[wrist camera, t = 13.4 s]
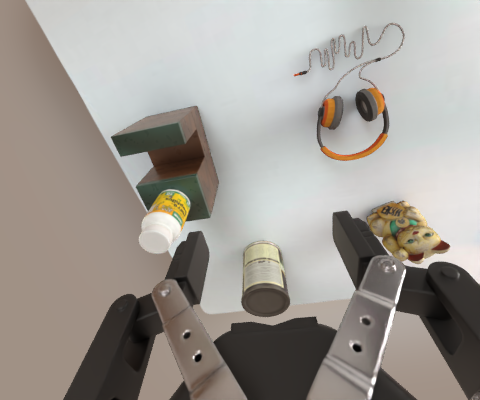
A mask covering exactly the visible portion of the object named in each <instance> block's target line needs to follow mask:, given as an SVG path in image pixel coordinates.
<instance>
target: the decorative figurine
mask: <svg viewBox="0 0 480 400" xmlns="http://www.w3.org/2000/svg"><path fill="white" fill-rule="evenodd" d="M372 212H373V214H372V215H370V216H368V217H367V221H368V224H369V226H370V229H371V231H372V232H373V233H374V234H375V235H376V236H378V237H383V240H382V243H383V245H384V246H385V247H386V249H388V250H389V251H390V252H391V253H392V255H393V256H394V257H395V258H396V259H398V260H400V261H404V260H406V259H408V260H409V261H411V262H413V263H415V264H420V263H422V262H423V260H424V259H426V258H428V257H431V256H432V255H434V254H435V253H437V254H441V253H445V252H447V251H448V250H449V248H450V245H449V244H447V243H446V242H444V241H442V240H441V239H440V237H439V236H438V234H437V233H436V232H435V231H434V230H433V229H431V228H430V227H427V222H426V220H425V218H424V217H423V216H422V215H421V214H420V212H419V211H418V209H416V208H415V207H411V206H409V204H408V203H407V202H405V201H402V202H399V203H397V204H396V203H395V202H394V201H391V202H389V203H385V204H384V205H381V206H379V207H377V208H374V209H373V210H372Z"/></svg>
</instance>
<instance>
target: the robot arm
mask: <svg viewBox="0 0 480 400" xmlns="http://www.w3.org/2000/svg"><path fill="white" fill-rule="evenodd" d="M333 239H334V242H335V245H336V247H337V249H338V251H339V253H340V256H341V258H342V260H343V262H344V264H345V266H346V269H347V271H348V273H349V275H350V277H351V279H352V281H353V284H354V286H355V288H356V290H355V292H354V294H353V296H352V298H351V301H350V303H349V305H348V308H347V310H346V312H345V315H344V317H343V319H342V322H341V324H340V326H339V329H338V331H337V330H335V329H333V328H331V327H329V326H326V325H322V324H318V323H317V319H316V317H305V318H294V319H291V320H289V321H286V322H283V323H280V324H277V325H274V326H271V325H266V324H260V323H255V322H246V323H245V322H244V323H232V324H231V331H229V332H227V333H225V334H223V335H221V336H220V337H219V338H217V339H216V340H215V341H214V342H213V341H212V340H211V338H210V336H209V335H208V333H207V331H206V329H205V328H204V326H203V324H202V323H201V322H200V319H199V318H198V316H197V314H196V313H195V311H194V309H193V305H195V304H200V301H201V296H202V291H203V286H204V282H205V277H206V272H207V267H208V262H209V249H208V246H207V243H206V241H205V238H204V235H203V233H202V231H197V232H190V233H189V234H188V237H187V240H186V241H182V242H181V244H180V245H179V246H178V247H177V249H176V251H175V254H174V257H173V259H172V262H171V265H170V267H169V270H168V272H167V275H166V277H165V280H164V281H162V282H160V283H159V284H157V285H156V286H155V288H154V289H153V291H152V293H150V294H148V295H146V296H143V297H140V298H138V299H137V298H136V297H135V296H134V295H132V294H126V295H123V296H121V297H120V298H118V299H117V300H116V301H115V302H114V303H113V304H112V305H111V307H110V308H109V310H108V312H107V314H106V316H105V318H104V320H103V322H102V324H101V326H100V328H99V330H98V332H97V334H96V336H95V338H94V340H93V342H92V344H91V346H90V348H89V350H88V352H87V354H86V356H85V358H84V360H83V362H82V364H81V366H80V368H79V370H78V372H77V374H76V376H75V378H74V380H73V382H72V384H71V386H70V388H69V389H68V392H67V393H66V395H65V397H64V399H63V400H138V396H139V393H140V389H141V386H142V382H143V378H144V375H145V372H146V368H147V365H148V361H149V358H150V354H151V351H152V347H153V344H154V340H155V336H156V335H157V334H160V333H162V332H164V333H165V335H166V337H167V340H168V342H169V345H170V347H171V350H172V352H173V354H174V357H175V359H176V362H177V364H178V367H179V369H180V371H181V374H182V376H183V379H184V381H183V383H182V384H181V385H180V386H179V388H178V389H177V390H176V392H175V393H174V394H173V396H172V397H171V398H170V400H417V399H416V398H415V397H414V396H412V395H411V394H410V393H409V392H408V391H407V390H406V389H404V388H403V387H402V386H401V385H400V384H399V383H397V381H395V380H394V379H393V378H392V377H391V376H390V375H389V374H387V373H386V372H385V371H384V370H383V369H382V368H381V365H382V361H383V358H384V354H385V350H386V346H387V342H388V338H389V334H390V331H391V327H392V323H393V320H394V316H395V312H396V311H400V312H405V313H410V314H415V315H419V316H420V318H421V320H422V321H423V323H424V325H425V327H426V328H427V330H428V332H429V333H430V335H431V337H432V338H433V340H434V342H435V344H436V345H437V347H438V349H439V350H440V352H441V354H442V356H443V357H444V359H445V361H446V362H447V364H448V366H449V367H450V369H451V371H452V373H453V374H454V376H455V378H456V379H457V381H458V383H459V385H460V386H461V388H462V390H463V391H464V393H465V395H466V397H467V398H468V400H480V285H479V284H478V283H477V282H476V281H475V280H474V279H473V278H472V277H471V276H470V274H469V273H468V272H467V271H465V270H464V269H463V268H461V267H459V266H457V265H455V264H452V263H448V262H434V263H432V264H430V265H429V267H428V269H423V268H416V267H409V266H405V265H404V264H403V263H402V262H401V261H400V260H398V259H396V258H394V257H392V256H389V255H388V253H387V252H386V250H385V249H384V248H383V246H382V245H381V243H380V242H379V240H378V239H377V238H376V236H374V233H373V232H372V231H371V229H370V228H369V226H368V225H367V224H366V223H365V222H364V221H362V220H361V219H359V218H354V219H352V217H351V216H350V214H349V213H348V211H341V212H334V213H333Z"/></svg>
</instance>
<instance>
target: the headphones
mask: <svg viewBox="0 0 480 400" xmlns="http://www.w3.org/2000/svg"><path fill="white" fill-rule="evenodd" d="M389 25H396V26H398V27H399V28H400V29H401V31H402V34H403V40H402V43H401V45H400V47H399V48H398V50H397V51H395V52H394V53H392V54H391V55H389V56H386V57H383V58H377V59H375V60H371V61H368V62H365V63H363V64H360V65H358V66H356V67H354V68H353V69H351V70H350V71H349V72H347V73H346V74H345V75H344V76H343V77H342V78H341V79H340V80H339V81H338V83H337V85H336V86H335V88H334V89H333V90H331V91H330V92H329V93H328V94H327V95H326V96H325V98H324V99H323V101H322V104H321V108H319V111H318V123H317V139H318V143H319V145H320V147H321V151H322V152H323V153H324V154H325V155H327V156H328V157H330V158H333V159H336V160H343V161H347V160H355V159H359V158H363V157H365V156H367V155H369V154H371V153H373V152H374V151H376V150H377V149H378V148H379V147H380V146H381V145H382V144H383V143H384V141H385V140H386V138H387V136H388V135H387V132H388V129H389V116H388V111H387V108H386V105H385V102H384V96H383V94H382V93H380V91H379V90H378V88H377V87H376V85H375V84H374V83H373V82H371V81H370V80H367V79H365V78H362V77H361V76H360V73H361V71H362V69H363V68H364V67H366V66H367V65H369V64H371V63H373V62H377V61H380V60H382V59H385V58H388V57H390V56H392V55H394V54H395V53H396V52H398V51H399V49H400V48H401V46H402V45H403V42H404V38H405V35H404V31H403V29H402V27H401V26H400V25H398V24H396V23H390V24H388V25H387V26H386V27H385V29H384V30H383V32H382V34H381V36H380V38H379V40H378V41H377V42H376V43H375V44H371V42H370V39H369V35H368V28H367V26H364V27H363V29H362V53H361V56H360V57H359V58H357V56H356V44H355V42H354V41H352V42H351V43H350V45H349V54H348V56H347V55H346V41H345V36H344V35H340V36H339V49H338V52H336V44H335V39H334V38H332V40H331V50H332V57H333V68H332V69H331V68H330V60H329V52H328V49H325V50H324V56H325V64H324V65H323V64H322V55H321V51H320V50H319V49H318V48H315V49H312V50H311V51H310V54H309V64H310V68H309V70H308V71H304V72H300V73H298V74H295V75H294V76H297V75H303V74H306V73H308V72H309V71H310V69H311V52H312V51H314V50H318V51H319V53H320V59H321V66H322V67H325V66H326V51H327V56H328V66H329V70H333V69H334V65H335V62H334V53H333V45H332V41H333V40H334V51H335V53H336V54H338V53H339V51H340V37H341V36H343V38H344V48H345V56H346V57H349V56H350V47H351V44H352V43H354V56H355V58H356V59H360V58H361V57H362V55H363V42H364V28H366V33H367V39H368V42H369V44H370V45H372V46H373V45H376V44H377V43H378V42H379V41H380V39H381V37H382V35H383V33H384V32H385V30H386V28H387V27H388V26H389ZM364 64H366V65H365V66H363V67H362V68H361V70H360V72H359V78H360V79H363V80H365V81H368V82H370V83H371V84H372V85H373V86H374V87H375V88H376V89H375V88H370V89H368V90H366V89H362V90H360V91H359V92H357V94H356V106H357V109H358V111H359V113H360V115H361V116H362V117H363V119H365V120H366V121H369V122H370V121H372V120H374V119H376V118H377V115H379V114H380V113H383V118H384V128H383V132H382V133H381V134H380V135H379V137H378V139H377V140H376V141H375V142H374V143H373V144H372V145H371V146H370V147H369V148H367V149H366V150H364V151H362V152H359V153H356V154H352V155H339V154H335V153H333V152H331V151H330V150H328V149H327V148H326V147H325V146H323V144H322V142H321V138H320V125H322V126H323V127H328V128H329V129H330V130H335V129H336V128H337V127H338V125H339V124H340V121H341V118H342V113H343V100H342V98H341V97H340V96H334V97H333V98H332V99H326V97H327V96H328V95H329V94H330V93H331V92H332V91H334V90H335V89H336V87H337V86H338V84H339V82H340V81H341V80H342V79H343V78H344V77H345V76H346V75H347V74H348V73H350V72H351V71H352V70H354V69H356V68H357V67H359V66H362V65H364ZM325 99H326V100H325ZM324 100H325V101H324Z"/></svg>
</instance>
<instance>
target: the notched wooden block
mask: <svg viewBox="0 0 480 400" xmlns="http://www.w3.org/2000/svg"><path fill="white" fill-rule="evenodd" d="M111 138H112V140H113V142H114V144H115V146H116V148H117V150H118V152H119V154H120V156H121V157H122V156H127V155H132V154H137V153H142V152H148V154H149V156H150V159H151V161H152V163H153V166H154V167H153V168H152V169H151V170H150V171H149V172H148V173H147V174H146V176H145V177H144V178H143V179H142V180H141V181H140V182H139V183H138V185H137V186H136V188H137V190H138V192H139V194H140V196H141V198H142V200H143V202H144V204H145V206H146V208H147V210H148V211H149V210H150V208H151V206H152V205H153V203H154V202H155V200H156V199H157V197H158V196H159V194H160V193H161V192H163V191H165V190H168V189H172V190H178V191H180V192H182V193H184V194H185V195H186V196H187V197H188V199H189V201H190V210H189V212H188V215H187V218H186V221H192V220H199V219H206V218H210V216H211V212H212V208H213V204H214V200H215V196H216V192H217V188H218V184H219V181H218V178H217V174H216V171H215V167H214V164H213V160H212V157H211V153H210V150H209V146H208V143H207V139H206V136H205V132H204V129H203V125H202V122H201V118H200V115H199V111H198V107H197V106H193V107H189V108H184V109H179V110H175V111H170V112H166V113H161V114H157V115H152V116H148V117H145V118H143V119H142V120H140V121H138V122H136V123H134V124H133V125H131V126H129V127H127V128H126V129H124V130H122V131H120V132H118V133H117V134H115V135H113V136H111ZM186 221H185V222H186Z"/></svg>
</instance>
